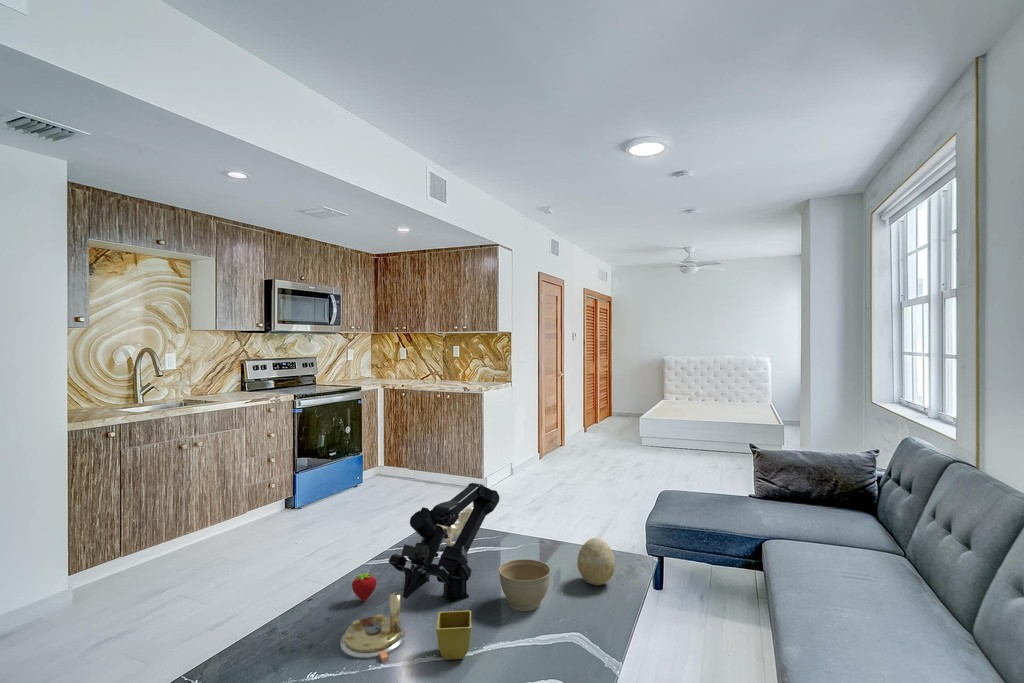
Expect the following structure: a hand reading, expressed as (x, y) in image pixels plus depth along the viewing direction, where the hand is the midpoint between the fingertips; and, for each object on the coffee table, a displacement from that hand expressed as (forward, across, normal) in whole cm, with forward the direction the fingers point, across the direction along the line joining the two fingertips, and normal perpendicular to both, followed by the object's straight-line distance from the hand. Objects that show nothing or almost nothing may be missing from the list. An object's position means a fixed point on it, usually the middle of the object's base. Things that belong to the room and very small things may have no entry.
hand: (404, 598), depth 141 cm
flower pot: (+8, +18, +6) cm, 21 cm away
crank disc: (+12, -5, +2) cm, 13 cm away
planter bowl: (-15, +22, +29) cm, 39 cm away
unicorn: (-34, -23, +47) cm, 63 cm away
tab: (+15, +3, -1) cm, 15 cm away
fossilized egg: (-32, +36, +46) cm, 67 cm away
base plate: (+12, -5, +2) cm, 13 cm away
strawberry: (+2, -23, +12) cm, 26 cm away
